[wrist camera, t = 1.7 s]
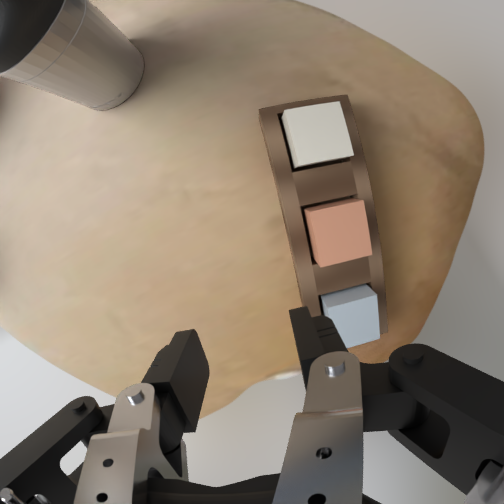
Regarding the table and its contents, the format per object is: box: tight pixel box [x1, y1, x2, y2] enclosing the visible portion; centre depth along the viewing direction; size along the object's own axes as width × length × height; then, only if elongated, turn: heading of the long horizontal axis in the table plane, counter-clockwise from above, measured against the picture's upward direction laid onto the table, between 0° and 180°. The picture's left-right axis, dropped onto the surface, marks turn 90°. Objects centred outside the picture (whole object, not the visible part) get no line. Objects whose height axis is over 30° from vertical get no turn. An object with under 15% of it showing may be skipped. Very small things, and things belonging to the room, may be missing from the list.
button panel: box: [259, 95, 388, 334], centre depth 29 cm, size 25×9×4 cm, turn 14°
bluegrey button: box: [320, 283, 380, 348], centre depth 28 cm, size 5×5×4 cm
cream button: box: [281, 101, 354, 168], centre depth 25 cm, size 5×5×4 cm
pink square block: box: [304, 198, 372, 267], centre depth 27 cm, size 5×5×4 cm
